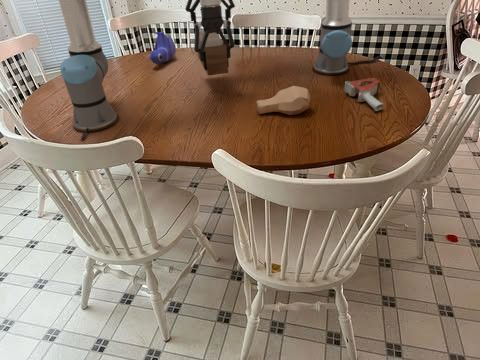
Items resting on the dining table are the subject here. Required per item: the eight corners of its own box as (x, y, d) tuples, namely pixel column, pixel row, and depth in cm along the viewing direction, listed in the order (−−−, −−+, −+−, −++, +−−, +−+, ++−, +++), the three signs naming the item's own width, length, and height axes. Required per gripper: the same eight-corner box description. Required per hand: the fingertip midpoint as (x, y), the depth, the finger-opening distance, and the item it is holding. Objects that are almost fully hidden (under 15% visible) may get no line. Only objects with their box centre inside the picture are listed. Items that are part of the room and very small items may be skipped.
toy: (164, 64, 198) (143, 70, 176) (159, 31, 191) (137, 33, 169) (180, 63, 196) (162, 69, 173) (176, 30, 189) (156, 32, 167)
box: (228, 72, 141) (226, 44, 135) (208, 75, 140) (205, 47, 133) (216, 55, 160) (214, 30, 154) (198, 57, 159) (195, 32, 153)
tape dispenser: (379, 117, 128) (393, 93, 140) (382, 104, 124) (396, 81, 137) (332, 106, 135) (349, 84, 148) (334, 93, 132) (351, 72, 144)
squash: (314, 116, 128) (313, 95, 122) (259, 125, 130) (256, 105, 124) (308, 99, 136) (307, 78, 129) (257, 108, 138) (253, 88, 131)
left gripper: (236, 0, 133) (239, 61, 147) (180, 6, 130) (189, 68, 143) (241, 4, 127) (244, 67, 141) (183, 10, 124) (191, 74, 137)
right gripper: (236, -34, 143) (238, 23, 155) (174, -30, 138) (181, 28, 151) (240, -32, 137) (242, 27, 149) (176, -28, 132) (183, 32, 145)
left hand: (216, 67), depth 142 cm, fingers closed on box, 8 cm apart
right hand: (211, 27), depth 150 cm, fingers open, 13 cm apart
